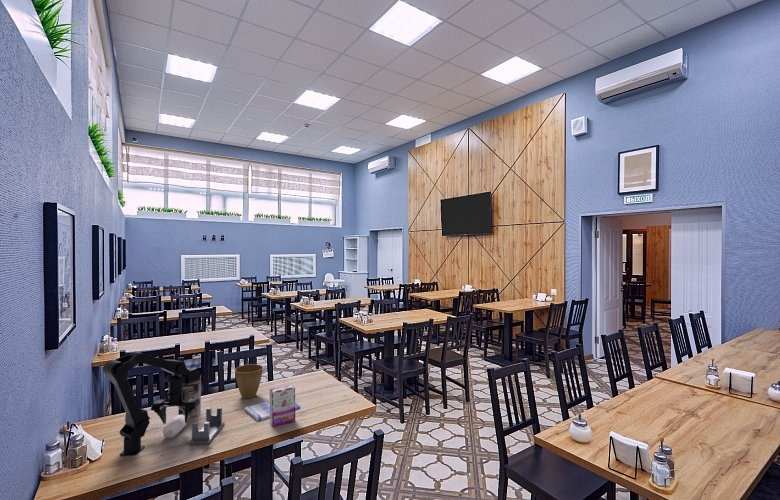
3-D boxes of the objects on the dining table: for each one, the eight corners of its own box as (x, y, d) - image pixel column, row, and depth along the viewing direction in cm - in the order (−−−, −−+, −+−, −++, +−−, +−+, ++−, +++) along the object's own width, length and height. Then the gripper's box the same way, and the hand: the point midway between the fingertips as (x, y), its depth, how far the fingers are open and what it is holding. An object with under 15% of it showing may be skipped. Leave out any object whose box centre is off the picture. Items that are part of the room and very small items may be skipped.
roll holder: (208, 444, 157) (208, 424, 157) (188, 445, 156) (189, 425, 156) (224, 423, 176) (224, 405, 176) (206, 424, 175) (206, 406, 175)
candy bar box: (292, 417, 183) (292, 384, 183) (295, 421, 179) (295, 387, 179) (269, 423, 177) (269, 388, 177) (272, 427, 172) (272, 391, 173)
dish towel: (243, 411, 191) (243, 406, 191) (286, 399, 206) (286, 394, 206) (255, 423, 178) (256, 417, 178) (300, 409, 193) (300, 404, 193)
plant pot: (228, 399, 205) (228, 370, 205) (248, 390, 219) (248, 362, 219) (249, 403, 199) (249, 373, 199) (268, 393, 213) (268, 365, 213)
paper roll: (173, 442, 159) (172, 428, 159) (158, 443, 158) (157, 429, 158) (191, 423, 177) (191, 410, 177) (178, 423, 176) (177, 411, 176)
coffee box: (177, 418, 182) (178, 385, 182) (181, 412, 188) (181, 380, 188) (198, 415, 184) (198, 383, 184) (201, 410, 190) (201, 379, 190)
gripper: (204, 381, 176) (204, 414, 176) (163, 383, 175) (163, 416, 174) (194, 390, 165) (194, 425, 165) (150, 391, 163) (150, 427, 163)
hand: (175, 423), depth 167 cm, fingers open, 9 cm apart
